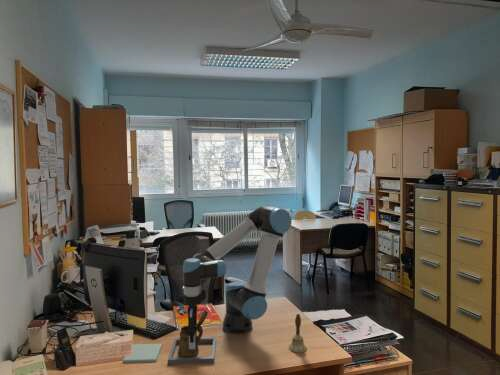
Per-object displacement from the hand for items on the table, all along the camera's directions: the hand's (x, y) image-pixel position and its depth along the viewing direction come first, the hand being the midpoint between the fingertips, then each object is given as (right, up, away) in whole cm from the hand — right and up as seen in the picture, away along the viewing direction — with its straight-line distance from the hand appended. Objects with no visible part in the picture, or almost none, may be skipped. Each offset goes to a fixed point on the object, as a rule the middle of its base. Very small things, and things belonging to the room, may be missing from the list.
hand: (193, 344), depth 173 cm
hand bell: (+47, -3, +3) cm, 47 cm away
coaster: (-22, -4, -1) cm, 22 cm away
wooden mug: (0, -4, 0) cm, 4 cm away
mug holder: (0, -4, 0) cm, 4 cm away
